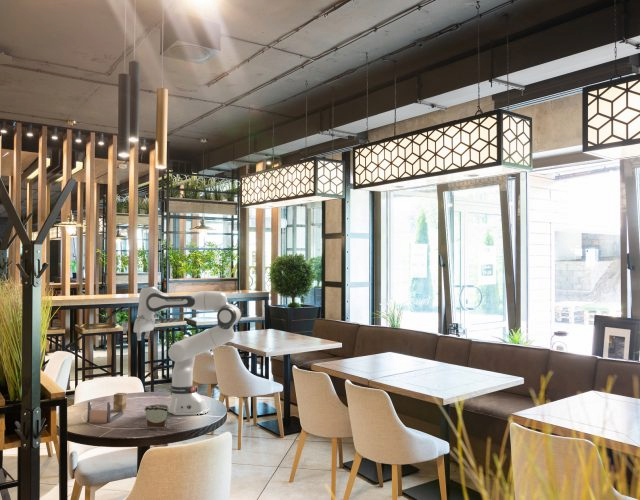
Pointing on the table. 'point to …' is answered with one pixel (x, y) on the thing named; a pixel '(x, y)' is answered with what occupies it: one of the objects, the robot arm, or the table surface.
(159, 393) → the table surface
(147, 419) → the food container
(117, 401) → the tan upright block
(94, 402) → the table surface
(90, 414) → the bay
